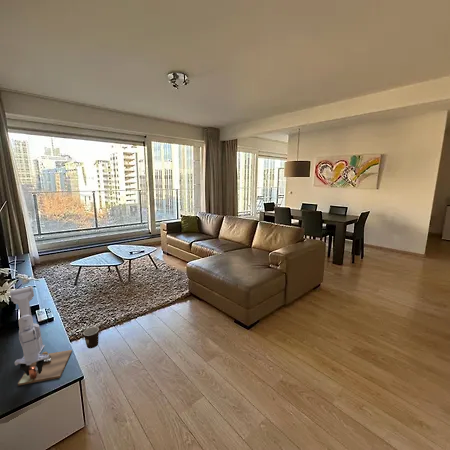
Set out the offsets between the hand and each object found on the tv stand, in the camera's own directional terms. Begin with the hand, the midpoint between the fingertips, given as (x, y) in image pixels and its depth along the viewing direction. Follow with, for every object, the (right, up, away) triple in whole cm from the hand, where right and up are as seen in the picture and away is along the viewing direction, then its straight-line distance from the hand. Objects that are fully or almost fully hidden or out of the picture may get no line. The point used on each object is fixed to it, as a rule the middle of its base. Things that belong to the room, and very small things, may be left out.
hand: (34, 373), depth 129 cm
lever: (-1, -1, +5) cm, 6 cm away
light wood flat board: (+1, -2, +8) cm, 9 cm away
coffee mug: (+15, +2, +27) cm, 31 cm away
